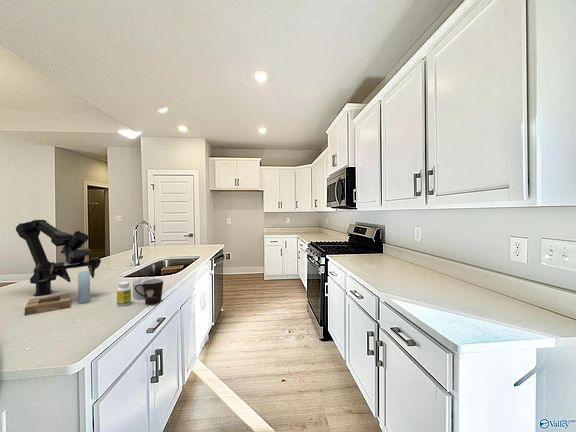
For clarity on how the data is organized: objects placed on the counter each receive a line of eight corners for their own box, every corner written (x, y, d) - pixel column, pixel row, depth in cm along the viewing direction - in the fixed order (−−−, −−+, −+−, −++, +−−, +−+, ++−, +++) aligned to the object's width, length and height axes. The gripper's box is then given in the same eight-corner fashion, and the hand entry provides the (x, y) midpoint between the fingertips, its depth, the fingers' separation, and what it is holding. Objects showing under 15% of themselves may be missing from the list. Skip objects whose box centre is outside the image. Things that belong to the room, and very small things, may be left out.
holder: (29, 306, 115) (29, 299, 115) (70, 299, 124) (70, 293, 124) (24, 315, 104) (24, 308, 104) (69, 307, 113) (69, 300, 113)
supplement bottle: (124, 306, 114) (124, 284, 114) (113, 305, 115) (113, 284, 115) (133, 302, 119) (133, 281, 119) (123, 301, 121) (123, 281, 120)
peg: (78, 301, 120) (78, 272, 120) (89, 300, 123) (89, 270, 123) (78, 304, 117) (78, 273, 117) (90, 302, 120) (90, 272, 120)
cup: (135, 300, 122) (135, 282, 122) (130, 294, 132) (130, 277, 132) (159, 296, 129) (159, 279, 129) (152, 290, 139) (152, 274, 139)
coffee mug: (167, 300, 122) (167, 279, 122) (152, 306, 114) (152, 284, 114) (148, 298, 126) (148, 277, 126) (133, 303, 118) (133, 282, 118)
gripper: (51, 245, 116) (61, 272, 111) (99, 241, 132) (109, 265, 126) (46, 261, 121) (54, 288, 115) (92, 255, 136) (102, 279, 131)
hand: (81, 279), depth 122 cm, fingers open, 9 cm apart
